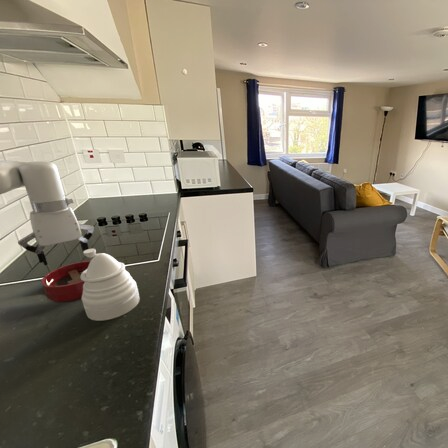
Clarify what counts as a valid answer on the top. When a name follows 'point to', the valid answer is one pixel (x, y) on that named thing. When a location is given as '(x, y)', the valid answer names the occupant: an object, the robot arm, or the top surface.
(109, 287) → the honey pot
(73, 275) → the t-shaped block
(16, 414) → the top surface
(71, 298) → the bowl
